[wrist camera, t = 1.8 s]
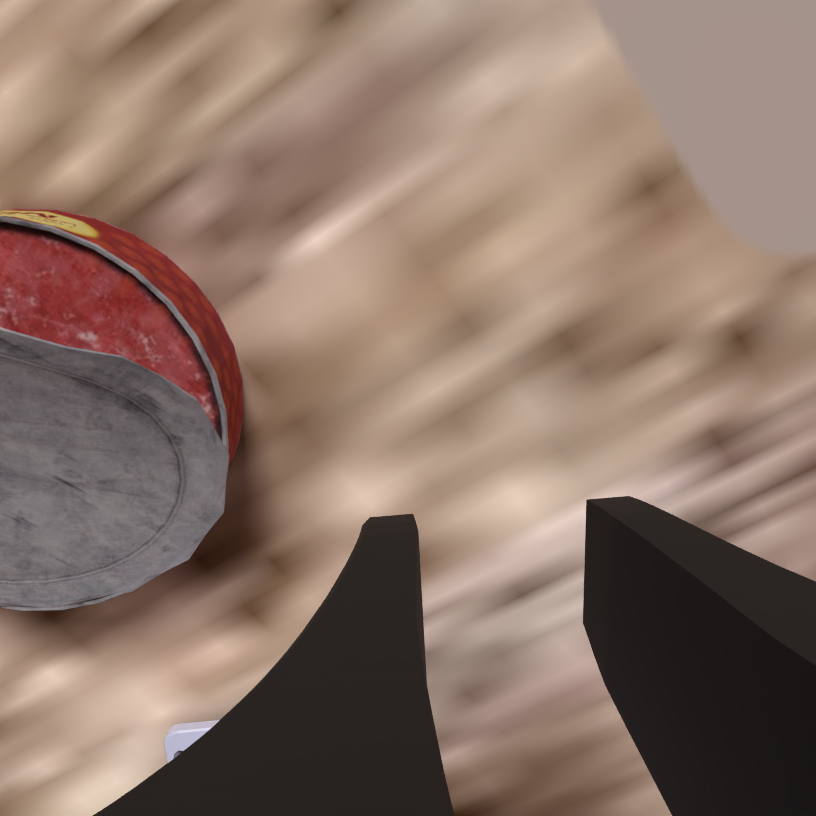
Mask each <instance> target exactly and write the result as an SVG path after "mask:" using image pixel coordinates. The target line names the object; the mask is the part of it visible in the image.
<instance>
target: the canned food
mask: <svg viewBox="0 0 816 816" xmlns="http://www.w3.org/2000/svg"><path fill="white" fill-rule="evenodd" d="M243 416H244V401H243V379H242V376H241V372H240V368H239V364H238V360H237V356H236V352H235V348H234V345H233V343H232V341H231V339H230V337H229V335H228V333H227V331H226V328H225V326H224V324H223V322H222V320H221V318H220V316H219V314H218V312H217V311H216V310H215V308H214V307H213V306H212V304H211V303H210V301H209V300H208V299H207V297H206V296H205V295H204V293H203V292H202V291H201V289H200V288H199V287H198V285H197V284H196V283H195V282H194V281H193V280H192V279H191V278H190V277H189V276H188V275H187V274H186V273H185V272H184V271H183V270H182V269H181V268H179V267H178V266H177V265H176V264H175V263H174V262H173V261H172V260H171V259H170V258H169V257H168V256H167V255H165V254H163V253H162V252H160V251H159V250H157V249H156V248H154V247H153V246H151V245H150V244H148V243H146V242H145V241H143V240H142V239H140V238H139V237H137V236H136V235H134V234H132V233H130V232H127V231H125V230H123V229H120V228H118V227H115V226H113V225H111V224H108V223H106V222H104V221H101V220H99V219H96V218H92V217H88V216H83V215H78V214H74V213H69V212H65V211H60V210H48V209H12V210H6V211H0V608H7V609H14V610H21V611H36V610H64V609H70V608H75V607H81V606H86V605H91V604H97V603H100V602H103V601H105V600H108V599H111V598H113V597H116V596H119V595H121V594H124V593H130V592H133V591H134V590H136V589H137V588H139V587H141V586H142V585H144V584H145V583H147V582H148V581H150V580H152V579H153V578H155V577H156V576H158V575H160V574H162V573H164V572H165V571H167V570H169V569H171V568H173V567H175V566H177V565H179V564H181V563H183V562H185V561H187V560H189V559H190V557H191V556H192V554H193V553H194V551H195V550H196V548H197V547H198V545H199V544H200V542H201V541H202V539H203V538H204V536H205V535H206V534H207V532H208V531H209V530H210V529H211V528H212V526H213V525H214V524H215V523H216V521H217V520H218V519H219V518H220V517H221V515H222V514H223V513H224V505H225V491H226V480H227V472H228V470H229V467H230V465H231V462H232V460H233V457H234V455H235V452H236V450H237V447H238V445H239V440H240V434H241V428H242V422H243Z"/></svg>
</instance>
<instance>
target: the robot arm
mask: <svg viewBox="0 0 816 816" xmlns="http://www.w3.org/2000/svg"><path fill="white" fill-rule="evenodd" d="M583 624H584V627H585V630H586V633H587V635H588V638H589V641H590V644H591V647H592V650H593V653H594V656H595V659H596V662H597V664H598V667H599V670H600V672H601V675H602V678H603V680H604V683H605V685H606V687H607V689H608V691H609V693H610V696H611V698H612V700H613V702H614V704H615V705H616V707H617V709H618V711H619V713H620V715H621V717H622V719H623V721H624V723H625V725H626V727H627V729H628V731H629V733H630V735H631V737H632V739H633V741H634V743H635V745H636V747H637V748H638V750H639V752H640V754H641V756H642V758H643V760H644V762H645V764H646V766H647V768H648V770H649V772H650V773H651V775H652V777H653V779H654V781H655V783H656V785H657V787H658V789H659V791H660V793H661V795H662V797H663V799H664V800H665V802H666V804H667V806H668V808H669V810H670V812H671V814H672V816H816V582H815V581H813V580H810V579H808V578H806V577H803V576H801V575H799V574H796V573H794V572H792V571H789V570H787V569H785V568H782V567H780V566H778V565H775V564H773V563H771V562H769V561H767V560H765V559H762V558H760V557H758V556H756V555H754V554H751V553H749V552H747V551H745V550H743V549H741V548H739V547H737V546H735V545H733V544H731V543H728V542H726V541H724V540H722V539H720V538H718V537H716V536H714V535H712V534H710V533H708V532H706V531H704V530H702V529H700V528H698V527H696V526H694V525H692V524H690V523H688V522H686V521H684V520H682V519H680V518H678V517H676V516H674V515H672V514H670V513H668V512H665V511H663V510H661V509H659V508H657V507H655V506H653V505H650V504H648V503H646V502H643V501H641V500H638V499H636V498H633V497H630V496H625V497H613V498H601V499H589V500H587V505H586V539H585V573H584V607H583ZM164 748H165V753H166V758H167V764H166V765H165V766H163V767H162V768H161V769H159V770H158V771H157V772H155V773H154V774H153V775H151V776H150V777H148V778H147V779H146V780H144V781H143V782H142V783H140V784H139V785H138V786H136V787H135V788H133V789H132V790H131V791H129V792H128V793H126V794H125V795H123V796H122V797H121V798H119V799H118V800H116V801H115V802H113V803H112V804H110V805H109V806H107V807H106V808H104V809H103V810H101V811H99V812H98V813H96V814H95V815H93V816H454V813H453V809H452V804H451V800H450V796H449V791H448V787H447V783H446V779H445V774H444V770H443V765H442V760H441V755H440V750H439V745H438V740H437V736H436V731H435V726H434V721H433V716H432V711H431V705H430V700H429V694H428V689H427V680H426V662H425V644H424V626H423V608H422V590H421V572H420V554H419V536H418V529H417V525H416V521H415V518H414V515H413V514H406V515H393V516H381V517H370V518H369V519H368V520H367V521H366V522H365V523H364V524H363V525H362V529H361V532H360V535H359V538H358V540H357V543H356V545H355V547H354V549H353V551H352V553H351V555H350V557H349V559H348V561H347V563H346V565H345V567H344V568H343V570H342V572H341V574H340V575H339V577H338V579H337V580H336V582H335V584H334V586H333V587H332V589H331V591H330V592H329V594H328V595H327V597H326V599H325V600H324V601H323V603H322V604H321V606H320V607H319V609H318V610H317V611H316V613H315V614H314V616H313V617H312V619H311V620H310V621H309V623H308V624H307V626H306V627H305V629H304V630H303V631H302V633H301V634H300V635H299V637H298V638H297V639H296V640H295V642H294V643H293V644H292V645H291V647H290V648H289V649H288V650H287V652H286V653H285V654H284V655H283V656H282V658H281V659H280V660H279V661H278V662H277V663H276V664H275V666H274V667H273V668H272V669H271V670H270V671H269V672H268V673H267V675H266V676H265V677H264V678H263V679H262V680H261V681H260V682H259V683H258V684H257V685H256V686H255V687H254V688H253V689H252V690H251V691H250V692H249V693H248V694H247V695H246V696H245V697H244V698H243V699H242V700H241V701H240V702H239V703H238V704H237V705H236V706H235V707H234V708H232V709H231V710H230V711H229V712H228V713H227V714H226V715H225V716H224V717H223V718H222V719H221V720H214V721H203V722H193V723H182V724H177V725H173V726H172V727H170V728H169V729H168V731H167V733H166V736H165V739H164ZM180 750H182V751H183V752H181V753H180V752H178V751H180Z"/></svg>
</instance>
